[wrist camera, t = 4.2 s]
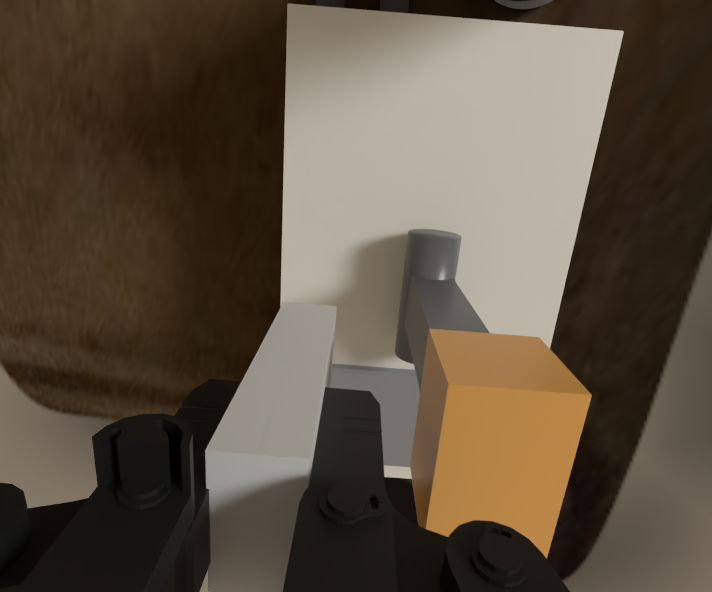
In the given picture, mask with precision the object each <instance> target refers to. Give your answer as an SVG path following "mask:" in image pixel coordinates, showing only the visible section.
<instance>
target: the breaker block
mask: <svg viewBox="0 0 712 592" xmlns="http://www.w3.org/2000/svg"><path fill="white" fill-rule="evenodd" d="M623 32H624V31H617V30H605V29H593V28H581V27H568V26H556V25H544V24H532V23H520V22H507V21H495V20H483V19H471V18H459V17H446V16H434V15H422V14H410V13H398V12H385V11H373V10H361V9H349V8H337V7H324V6H312V5H300V4H287V46H286V88H285V131H284V173H283V216H282V258H281V300H280V308H281V306H282V304H283V302H293V303H304V304H316V305H327V306H337V309H336V322H335V335H334V348H333V361H332V374H331V387H330V388H340V389H351V390H363V391H370V392H371V393H372V394H373V396H374V397H375V398H376V400H377V401H378V402H379V404H380V411H381V428H382V445H383V462H384V477H395V478H408V479H412V476H411V469H410V463H411V455H412V448H413V441H414V433H415V426H416V419H417V412H418V404H419V397H420V389H419V385H418V381H417V376H416V372H415V367H414V364H411V363H408V362H405V361H403V360H401V359H400V358H398V357H397V356H396V354H395V344H396V335H397V326H398V317H399V308H400V300H401V291H402V282H403V273H404V264H405V255H406V247H407V238H408V231H409V230H412V229H433V230H441V231H447V232H452V233H456V234H458V235H460V236H462V239H461V246H460V252H459V259H458V265H457V272H456V278H455V282H456V283H457V285H458V286H459V288H460V289H461V291H462V292H463V294H464V295H465V297H466V298H467V300H468V301H469V303H470V304H471V306H472V307H473V309H474V310H475V312H476V313H477V315H478V316H479V318H480V319H481V321H482V322H483V323H484V325H485V326H486V328H487V329H488V331H489V332H490V333H493V334H506V335H519V336H532V337H539V338H540V339H541V340H542V341H543V342H544V343H545V344H546V345H547V346H548V348H549V349H550V346H551V341H552V337H553V333H554V328H555V324H556V320H557V316H558V311H559V307H560V303H561V298H562V294H563V290H564V285H565V281H566V277H567V273H568V268H569V264H570V260H571V255H572V251H573V247H574V243H575V238H576V234H577V230H578V225H579V221H580V217H581V213H582V208H583V204H584V200H585V195H586V191H587V187H588V183H589V178H590V174H591V170H592V165H593V161H594V157H595V153H596V148H597V144H598V140H599V135H600V131H601V127H602V122H603V118H604V114H605V110H606V105H607V101H608V97H609V92H610V88H611V84H612V80H613V75H614V71H615V67H616V62H617V58H618V54H619V50H620V45H621V41H622V37H623Z"/></svg>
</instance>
